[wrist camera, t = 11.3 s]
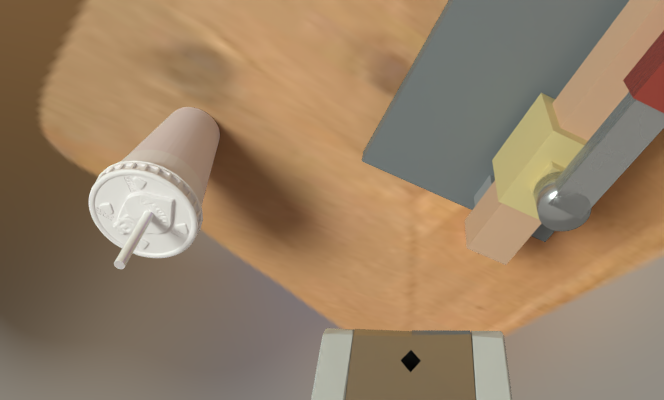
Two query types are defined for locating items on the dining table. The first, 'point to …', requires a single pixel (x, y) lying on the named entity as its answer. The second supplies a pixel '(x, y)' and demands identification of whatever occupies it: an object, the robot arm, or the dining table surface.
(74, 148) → the dining table surface
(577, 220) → the lever
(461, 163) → the board
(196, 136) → the smoothie
